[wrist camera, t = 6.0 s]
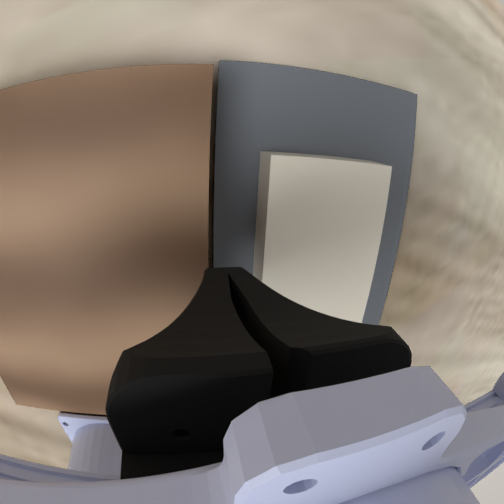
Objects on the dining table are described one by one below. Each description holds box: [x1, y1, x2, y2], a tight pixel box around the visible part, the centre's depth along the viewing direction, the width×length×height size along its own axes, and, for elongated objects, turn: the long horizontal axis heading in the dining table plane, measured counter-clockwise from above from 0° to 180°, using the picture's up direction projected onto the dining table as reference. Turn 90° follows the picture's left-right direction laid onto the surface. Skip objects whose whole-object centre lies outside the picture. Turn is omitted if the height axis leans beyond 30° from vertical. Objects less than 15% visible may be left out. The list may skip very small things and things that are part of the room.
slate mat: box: [213, 60, 417, 325], centre depth 17 cm, size 18×11×1 cm, turn 177°
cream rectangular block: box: [253, 151, 392, 323], centre depth 16 cm, size 9×6×2 cm, turn 177°
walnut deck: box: [0, 64, 214, 415], centre depth 13 cm, size 16×12×4 cm
